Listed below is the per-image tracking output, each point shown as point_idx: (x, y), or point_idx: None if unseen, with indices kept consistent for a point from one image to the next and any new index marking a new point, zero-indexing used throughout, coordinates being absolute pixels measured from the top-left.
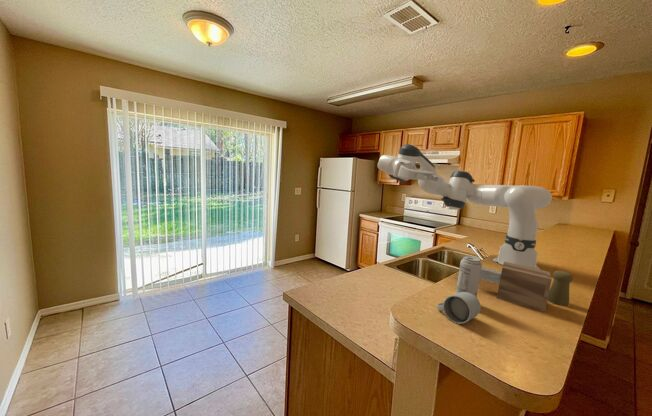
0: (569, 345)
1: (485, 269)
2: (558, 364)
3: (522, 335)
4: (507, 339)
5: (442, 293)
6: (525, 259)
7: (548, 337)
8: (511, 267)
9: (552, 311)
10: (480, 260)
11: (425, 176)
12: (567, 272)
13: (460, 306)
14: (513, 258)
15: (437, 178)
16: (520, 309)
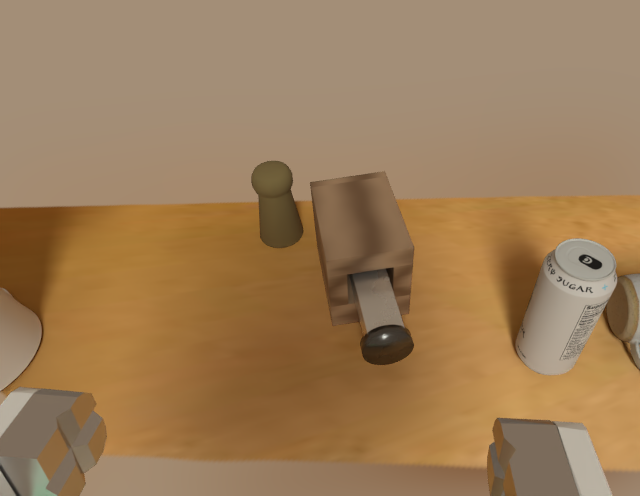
0: (502, 198)
1: (385, 311)
2: (593, 199)
3: (558, 241)
4: None
5: (559, 421)
6: (9, 298)
7: (510, 218)
8: (379, 235)
9: None
10: (571, 239)
11: (576, 445)
12: (266, 164)
13: None
14: (6, 331)
15: (86, 402)
16: (424, 266)
